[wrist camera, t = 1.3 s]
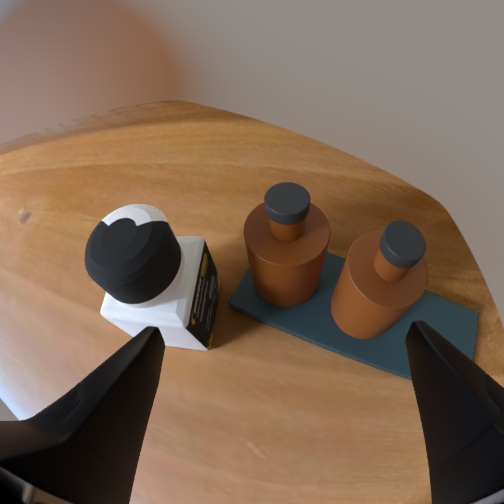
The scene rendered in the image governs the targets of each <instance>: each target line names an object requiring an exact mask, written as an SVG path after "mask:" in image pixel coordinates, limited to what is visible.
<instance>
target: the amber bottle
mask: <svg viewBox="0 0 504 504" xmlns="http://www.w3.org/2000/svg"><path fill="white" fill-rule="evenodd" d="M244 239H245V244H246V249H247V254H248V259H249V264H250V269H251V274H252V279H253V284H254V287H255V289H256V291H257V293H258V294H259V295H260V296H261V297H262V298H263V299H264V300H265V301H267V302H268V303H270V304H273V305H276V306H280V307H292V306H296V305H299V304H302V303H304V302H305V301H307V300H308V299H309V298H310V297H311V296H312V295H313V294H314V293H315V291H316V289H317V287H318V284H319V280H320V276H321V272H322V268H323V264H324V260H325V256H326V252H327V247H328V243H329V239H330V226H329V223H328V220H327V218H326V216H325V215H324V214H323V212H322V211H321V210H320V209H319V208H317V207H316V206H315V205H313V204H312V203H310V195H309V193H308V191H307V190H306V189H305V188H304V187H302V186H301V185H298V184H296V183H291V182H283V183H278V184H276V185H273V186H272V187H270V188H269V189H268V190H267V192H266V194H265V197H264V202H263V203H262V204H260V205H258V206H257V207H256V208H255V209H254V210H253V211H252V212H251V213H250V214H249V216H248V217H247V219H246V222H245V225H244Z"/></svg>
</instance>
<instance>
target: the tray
mask: <svg viewBox="0 0 504 504" xmlns="http://www.w3.org/2000/svg"><path fill="white" fill-rule="evenodd" d="M345 260H346V259H344V258H341V257H339V256H336V255H333V254H331V253H328V252H326V256H325V260H324V264H323V268H322V272H321V276H320V280H319V284H318V287H317V289H316V291H315V293H314V294H313V295H312V296H311V297H310V298H309V299H308V300H307V301H305V302H304V303H302V304H299V305H296V306H292V307H280V306H276V305H273V304H270V303H268V302H267V301H265V300H264V299H263V298H262V297H261V296H260V295H259V294H258V293H257V291H256V289H255V287H254V284H253V279H252V274H251V269H250V267H249V268H248V270H247V272H246V273H245V275H244V277H243V278H242V280H241V282H240V283H239V285H238V287H237V289H236V290H235V292H234V294H233V295H232V297H231V299H230V300H229V302H228V304H229V306H230V307H231V308H233V309H235V310H237V311H240V312H242V313H244V314H246V315H248V316H250V317H253V318H255V319H257V320H259V321H261V322H264V323H266V324H268V325H270V326H273V327H275V328H277V329H280V330H282V331H284V332H287V333H289V334H291V335H294V336H296V337H298V338H301V339H303V340H305V341H308V342H310V343H313V344H315V345H318V346H320V347H323V348H325V349H328V350H330V351H333V352H335V353H338V354H340V355H343V356H346V357H348V358H351V359H353V360H356V361H359V362H361V363H364V364H367V365H370V366H372V367H375V368H378V369H381V370H384V371H386V372H389V373H392V374H395V375H398V376H401V377H404V378H407V379H410V380H412V378H411V373H410V366H409V360H408V354H407V349H406V343H405V339H406V335H407V333H408V330H409V328H410V325H411V323H412V322H413V321H418V320H423V321H425V322H426V323H427V324H428V325H430V326H431V327H432V328H433V329H435V330H436V331H437V332H438V333H440V334H441V335H442V336H443V337H444V338H446V339H447V340H448V341H449V342H450V343H452V344H453V345H454V346H455V347H457V348H458V349H459V350H460V351H461V352H462V353H464V354H465V355H466V356H467V357H468V358H470V359H471V360H472V361H473V355H474V349H475V342H476V335H477V327H478V317H479V313H478V312H476V311H474V310H471V309H469V308H467V307H464V306H462V305H460V304H457V303H455V302H452V301H450V300H448V299H445V298H443V297H440V296H438V295H436V294H433V293H431V292H428V291H426V290H425V291H424V293H423V295H422V296H421V297H420V298H419V300H418V301H417V302H416V303H415V304H414V305H413V306H412V307H411V308H410V309H409V310H408V311H407V312H405V313H404V314H403V315H402V316H401V317H400V318H399V319H398V320H397V321H396V322H395V323H394V324H393V325H392V326H391V327H389V328H388V329H387V330H386V331H385V332H384V333H382V334H381V335H379V336H377V337H375V338H371V339H358V338H354V337H352V336H349V335H348V334H346V333H345V332H343V331H342V330H341V329H340V328H339V327H338V325H337V324H336V323H335V321H334V319H333V316H332V313H331V298H332V295H333V292H334V290H335V287H336V284H337V282H338V279H339V277H340V274H341V271H342V269H343V266H344V263H345Z"/></svg>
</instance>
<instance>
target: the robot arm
mask: <svg viewBox="0 0 504 504" xmlns="http://www.w3.org/2000/svg"><path fill="white" fill-rule="evenodd" d="M405 343H406V349H407V354H408V360H409V366H410V373H411V378H412V383H413V387H414V391H415V395H416V399H417V403H418V408H419V413H420V417H421V422H422V427H423V433H424V438H425V444H426V451H427V457H428V465H429V474H430V484H431V496H432V504H504V388H503V387H502V386H501V385H499V384H498V383H497V382H496V381H495V380H494V379H492V378H491V377H490V376H489V375H488V374H486V373H485V372H484V371H483V370H482V369H481V368H480V367H479V366H478V365H476V364H475V363H474V362H473V361H472V360H471V359H470V358H468V357H467V356H466V355H465V354H464V353H462V352H461V351H460V350H459V349H458V348H457V347H455V346H454V345H453V344H452V343H450V342H449V341H448V340H447V339H446V338H444V337H443V336H442V335H441V334H440V333H438V332H437V331H436V330H435V329H433V328H432V327H431V326H430V325H428V324H427V323H426V322H425V321H423V320H418V321H413V322H412V323H411V325H410V328H409V330H408V333H407V335H406V339H405ZM164 350H165V342H164V339H163V337H162V334H161V332H160V330H159V328H158V327H155V326H147V327H145V328H144V329H143V330H142V331H141V332H139V333H138V334H137V335H136V336H135V337H133V338H132V339H131V340H130V341H129V342H127V343H126V344H125V345H124V346H123V347H121V348H120V349H119V350H118V351H117V352H115V353H114V354H113V355H112V356H111V357H109V358H108V359H107V360H106V361H105V362H103V363H102V364H101V365H100V366H99V367H97V368H96V369H95V370H94V371H93V372H91V373H90V374H89V375H88V376H87V377H85V378H84V379H83V380H82V381H81V382H79V383H78V384H77V385H76V386H75V387H74V388H72V389H71V390H70V391H69V392H67V393H66V394H65V395H63V396H62V397H61V398H59V399H58V400H57V401H55V402H54V403H52V404H51V405H49V406H48V407H46V408H45V409H44V410H42V411H41V412H39V413H38V414H36V415H35V416H33V417H31V418H29V419H26V420H21V421H0V504H129V502H130V497H131V492H132V487H133V483H134V478H135V477H134V476H135V473H136V469H137V464H138V460H139V456H140V452H141V448H142V444H143V440H144V436H145V432H146V428H147V424H148V420H149V417H150V413H151V409H152V406H153V402H154V398H155V395H156V391H157V388H158V384H159V379H160V373H161V367H162V361H163V356H164Z"/></svg>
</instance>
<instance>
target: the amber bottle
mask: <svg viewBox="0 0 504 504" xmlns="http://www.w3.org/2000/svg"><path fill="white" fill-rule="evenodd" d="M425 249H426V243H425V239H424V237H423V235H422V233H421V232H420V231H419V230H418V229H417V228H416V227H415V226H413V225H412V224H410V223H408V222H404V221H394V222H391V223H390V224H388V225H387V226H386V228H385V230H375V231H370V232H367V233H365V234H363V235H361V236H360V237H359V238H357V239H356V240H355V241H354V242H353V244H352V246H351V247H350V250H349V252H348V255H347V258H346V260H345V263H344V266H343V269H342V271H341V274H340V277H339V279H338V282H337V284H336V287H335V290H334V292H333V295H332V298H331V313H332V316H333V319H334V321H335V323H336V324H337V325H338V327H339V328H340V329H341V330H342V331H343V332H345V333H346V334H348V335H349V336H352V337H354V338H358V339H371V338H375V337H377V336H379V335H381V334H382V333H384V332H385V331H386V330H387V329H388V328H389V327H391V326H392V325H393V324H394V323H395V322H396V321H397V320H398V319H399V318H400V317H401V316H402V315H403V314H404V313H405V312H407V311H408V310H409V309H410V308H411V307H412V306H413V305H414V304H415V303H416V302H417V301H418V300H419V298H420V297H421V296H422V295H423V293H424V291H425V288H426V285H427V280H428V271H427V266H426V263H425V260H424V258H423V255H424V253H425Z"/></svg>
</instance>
